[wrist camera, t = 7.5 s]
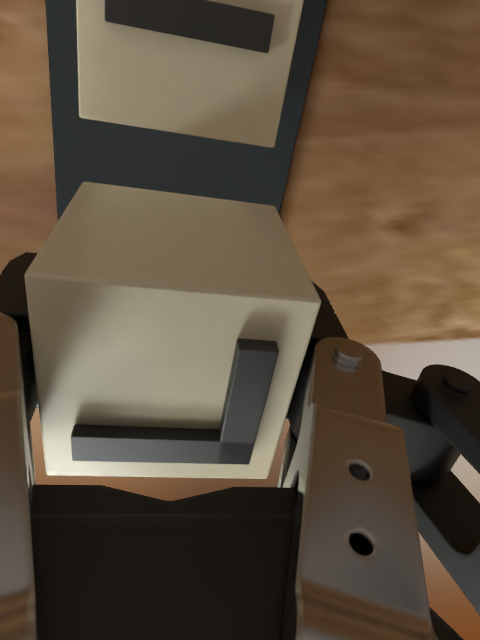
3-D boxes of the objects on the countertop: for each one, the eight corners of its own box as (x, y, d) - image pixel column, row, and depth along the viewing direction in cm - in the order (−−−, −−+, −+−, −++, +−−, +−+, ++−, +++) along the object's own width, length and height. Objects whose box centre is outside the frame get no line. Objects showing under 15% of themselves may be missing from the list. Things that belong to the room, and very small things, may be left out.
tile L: (82, 180, 10) (15, 283, 6) (275, 204, 11) (328, 311, 7) (86, 340, 13) (40, 489, 9) (244, 351, 14) (270, 492, 9)
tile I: (108, -107, 11) (67, -176, 7) (281, -65, 12) (328, -105, 8) (107, 91, 14) (76, 120, 10) (250, 115, 15) (276, 151, 11)
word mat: (23, -484, 9) (16, -504, 8) (400, -340, 10) (407, -353, 10) (60, 234, 17) (58, 238, 16) (267, 257, 18) (268, 261, 18)
